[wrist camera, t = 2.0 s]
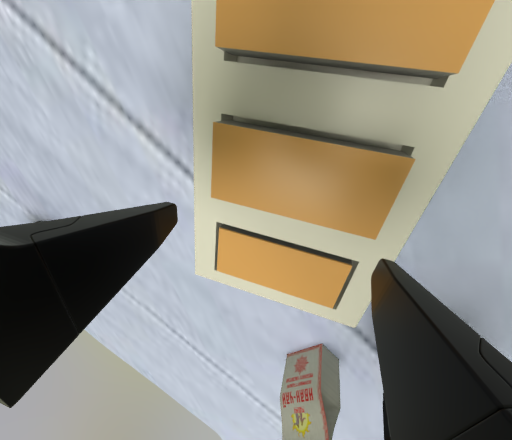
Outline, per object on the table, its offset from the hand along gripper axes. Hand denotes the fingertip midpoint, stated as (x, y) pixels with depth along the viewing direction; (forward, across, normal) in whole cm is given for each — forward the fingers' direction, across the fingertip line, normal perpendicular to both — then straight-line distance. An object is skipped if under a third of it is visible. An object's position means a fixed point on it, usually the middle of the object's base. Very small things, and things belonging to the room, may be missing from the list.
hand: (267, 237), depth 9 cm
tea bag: (+13, -8, +28) cm, 32 cm away
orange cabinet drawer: (+12, 0, +10) cm, 15 cm away
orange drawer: (+10, 0, 0) cm, 10 cm away
